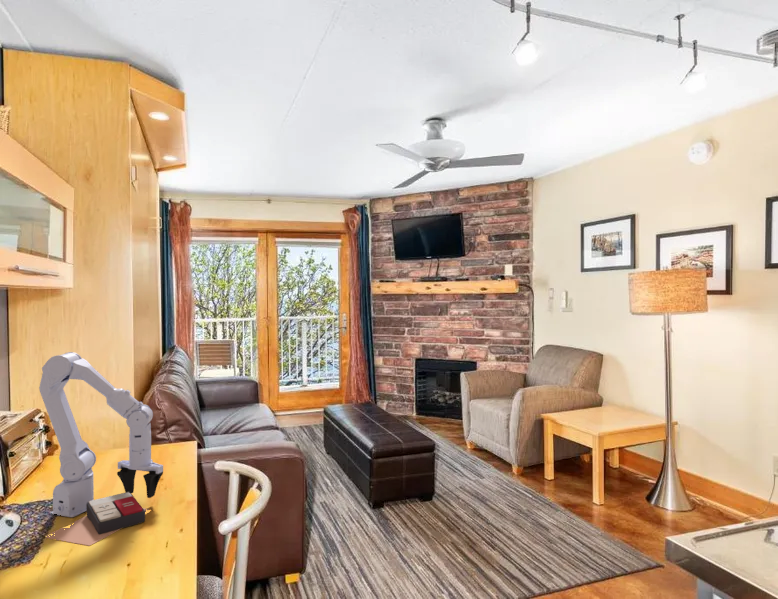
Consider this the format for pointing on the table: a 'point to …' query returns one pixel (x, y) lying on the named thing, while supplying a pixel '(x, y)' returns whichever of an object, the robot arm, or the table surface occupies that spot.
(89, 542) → the mat
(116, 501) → the black white red box
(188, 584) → the table surface
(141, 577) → the table surface
